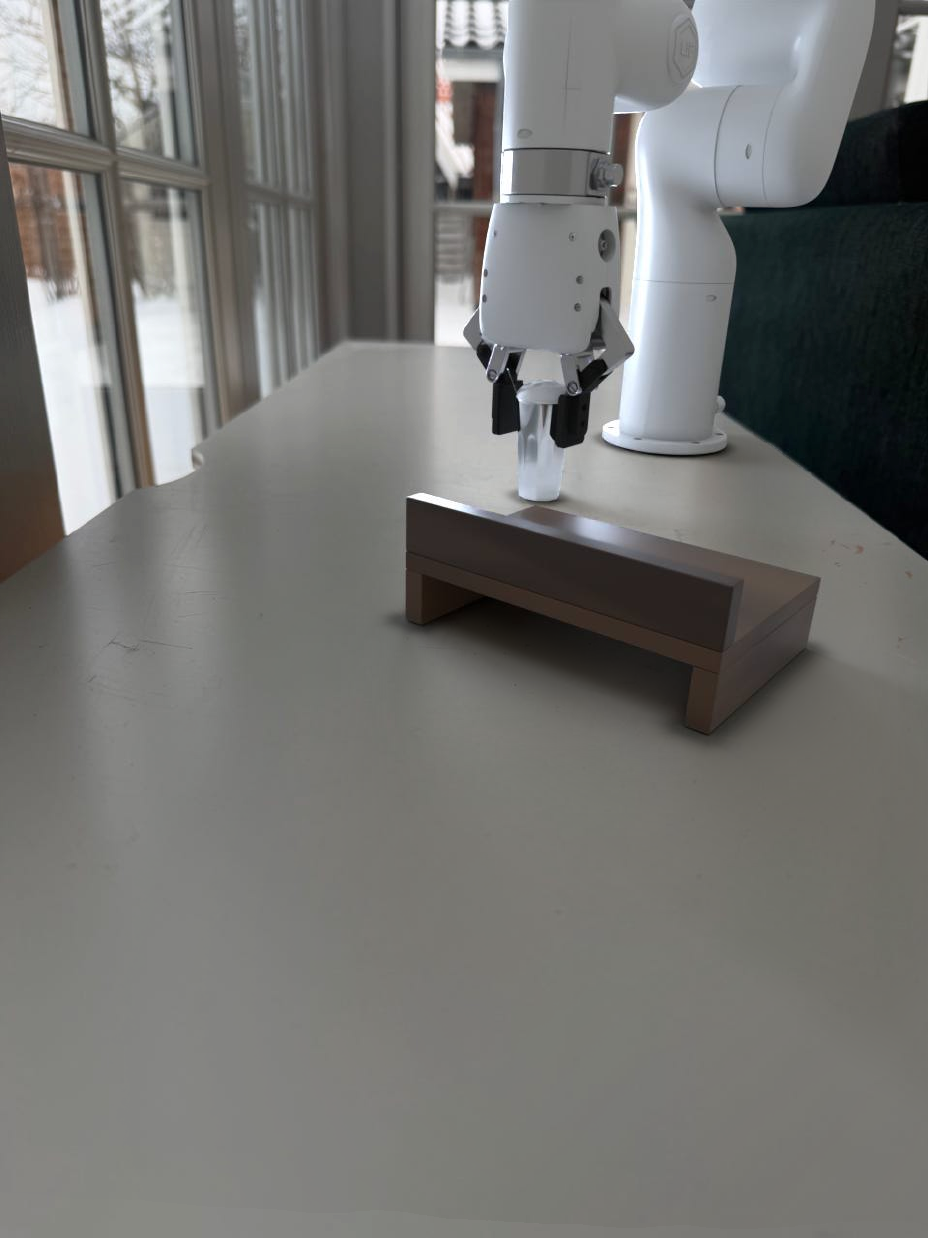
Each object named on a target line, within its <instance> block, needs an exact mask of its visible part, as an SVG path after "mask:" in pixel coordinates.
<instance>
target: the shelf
mask: <svg viewBox="0 0 928 1238" xmlns="http://www.w3.org/2000/svg"><path fill="white" fill-rule="evenodd" d="M405 550H406V551H405V609H404V611H405V612H404V613H405V615H404V616H405V617H404V618H405V620H406V621H409V622H411V623H414V624H417V625H419V626H422V625H425V624H427V623H430V622H431V621H433V620H436V619H438V618H440V617H443V616H445V615H447V614H449V613H451V612H454V611H455V610H458V609H460V608H462V607H466V606H467V605H470V604H472V603H474V602H476V601H477V600H481V599H483V598H485V597H489V598H493V599H495V600H498V601H501V602H504V603H507V604H511V605H513V606H516V607H518V608H522V609H525V610H528V611H530V612H533V613H537V614H540V615H542V616H545V617H549V618H551V619H554V620H557V621H561V622H563V623H565V624H570V625H573V626H575V627H578V628H580V629H584V630H587V631H589V632H593V633H595V634H598V635H602V636H605V637H608V638H610V639H613V640H617V641H619V642H623V643H625V644H628V645H632V646H635V647H637V648H640V649H643V650H646V651H649V652H653V653H655V654H658V655H661V656H664V657H667V658H670V659H673V660H676V661H679V662H681V663H684V664H688V665H690V666H693V667H692V673H691V679H690V685H689V692H688V699H687V705H686V710H685V711H686V712H685V717H684V726H685V727H686V728H689V729H692V730H695V731H697V732H699V733H702V734H705V735H710V734H711V733H713V732H714V731H715V730H716V729H717V728H718V727H719V726H720V725H721V724H722V723H723V722H724V721H725V720H726V719H728V718H729V717H730V716H732V714H734V713H735V712H736V711H737V710H738V709H739V708H740V707H742V705H744V703H746V702H747V701H748V700H749V699H750V698H751V697H752V696H754V695H755V693H757V692H758V691H759V690H761V688H762V687H764V686H765V684H767V683H768V682H769V681H770V680H771V679H773V677H775V675H777V674H778V673H779V672H780V671H781V670H783V669H784V668H785V667H786V666H787V665H788V664H789V663H790V662H791V661H792V660H793V659H795V658H796V657H797V656H798V655H799V654H800V653H801V652H802V651H804V650H805V648H807V646H808V642H809V638H810V632H811V628H812V623H813V618H814V614H815V608H816V604H817V599H818V595H819V590H820V586H821V585H820V584H821V582H822V581H821V580H822V577H820V576H816V575H812V574H809V573H805V572H802V571H797V570H794V569H789V568H785V567H781V566H778V565H773V564H769V563H766V562H761V561H757V560H753V559H750V558H747V557H746V558H745V557H742V556H737V555H733V554H731V553H726V552H722V551H718V550H714V549H710V548H706V547H702V546H699V545H695V544H689V543H687V542H684V541H683V542H682V541H678V540H674V539H671V538H667V537H664V536H659V535H655V534H651V533H647V532H644V531H640V530H636V529H631V528H627V527H624V526H619V525H616V524H611V523H608V522H604V521H600V520H596V519H592V518H588V517H584V516H580V515H575V514H572V513H568V512H564V511H561V510H556V509H552V508H549V507H545V506H540V505H537V504H534V505H532V506H529V507H526V508H522V509H520V510H518V511H515V512H512V513H509V514H507V515H505V514H502V513H498V512H494V511H491V510H487V509H483V508H480V507H477V506H472V505H468V504H464V503H460V502H457V501H453V500H450V499H446V498H442V497H439V496H434V495H431V494H427V493H423V492H418V493H415V494H412V495H409V496H406V497H405Z"/></svg>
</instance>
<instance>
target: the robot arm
mask: <svg viewBox="0 0 928 1238" xmlns="http://www.w3.org/2000/svg"><path fill="white" fill-rule="evenodd" d="M875 13H876V0H694V2H693V6H692V9H690V8H689V7H688V5H687V4H686V2H685V1H684V0H508V7H507V23H506V24H507V28H506V33H505V38H504V45H503V56H502V64H503V65H502V66H503V77H504V97H503V118H502V119H503V120H502V123H503V124H502V141H501V142H502V143H501V144H502V145H501V151H502V152H501V167H500V193H499V194H500V196H499V198H500V199H499V203H497V202H496V203H493V208H492V211H491V216H490V218H489V219H490V220H489V224H488V230H487V234H486V241H485V247H484V253H483V262H482V268H481V269H482V270H481V281H480V291H479V292H480V293H479V295H480V296H479V306H478V307H477V309H476V310H475V311H474V312H473V314H472V315H471V317H470V318H469V320H467V322H466V324H465V325H464V327H463V328H462V336H463V337H464V339H465V340H466V342H467V343H468V344H469V345H470V347H471V348H472V349H473V351H475V354H476V357H477V359H478V360H479V362H480V363H481V365H482V366H483V368H484V370H485V371H486V372H485V377H486V380H487V381H488V382H489V383H491V384H492V394H491V395H492V396H491V397H492V398H491V399H492V400H491V433H492V435H495V436H503V435H506V434H511V433H514V432H518V427H517V404H516V392H517V391H518V390H519V389H520V388H521V387H522V386H523V385H525V383H524V380H523V379H518V376H519V374H520V371H521V368H522V365H523V362H524V359H525V356H526V352H527V350H530V351H531V350H533V351H540V352H547V353H555V354H558V355H559V360H560V366H561V372H562V377H563V382H564V384H565V388H566V393H565V394H560V396H559V398H558V407H557V421H556V435H555V445H556V446H557V447H559V448H566V449H567V448H571V447H575V446H577V445H581V444H584V441H585V437H586V434H587V433H588V429H589V419H590V409H591V408H590V407H591V394H592V393H593V392H596V391H597V390H598V389H599V385H601V384H602V383H603V382H604V381H605V380H606V379H608V377H609V376H610V375H611V374H612V373H613V372H614V370H615V369H617V368H619V367H620V366H622V364H624V365H623V373H622V385H621V394H620V405H619V415H618V419H617V420H613V421H610V422H607V423H605V424H604V425H603V426H602V432H601V433H602V435H601V436H602V439H603V440H604V441H605V442H607V443H609V444H611V445H613V446H616V447H620V448H622V449H627V450H632V451H635V452H636V451H637V452H642V453H650V454H659V455H676V456H682V455H683V456H688V455H689V456H691V455H692V456H693V455H705V454H706V455H708V454H712V453H716V452H720V451H722V450H724V449H725V448H726V447H727V444H728V435H727V434H726V432H725V431H723V430H721V429H719V428H716V427H715V426H714V424H715V416H716V415H717V414H720V413H722V412H723V411H724V410H725V408H726V401H725V399H724V398H723V397H722V396H721V395H719V389H720V382H721V375H722V370H723V369H722V368H723V362H724V355H725V349H726V348H725V347H726V341H727V335H728V334H727V333H728V327H729V321H730V315H731V306H732V300H733V292H734V287H735V282H736V281H735V280H736V272H737V253H736V248H735V245H734V243H733V241H732V238H731V236H730V234H729V232H728V230H727V228H726V226H725V224H724V223H723V221H722V219H721V217H720V215H719V212H718V209H724V208H725V209H726V208H732V207H733V208H734V207H737V208H743V207H744V208H793V207H794V208H795V207H801V206H804V205H806V204H808V203H810V202H812V201H813V200H814V199H816V198H817V197H818V196H819V195H820V193H822V191H823V189H824V188H825V186H826V184H827V182H828V180H829V179H830V178H829V177H830V175H831V173H832V171H833V168H834V165H835V162H836V159H837V157H838V156H837V155H838V152H839V149H840V146H841V144H842V143H841V142H842V140H843V135H844V133H845V129H846V125H847V122H848V120H849V116H850V112H851V108H852V106H853V102H854V99H855V96H856V93H857V89H858V85H859V82H860V79H861V75H862V72H863V69H864V66H865V62H866V59H867V56H868V51H869V47H870V43H871V39H872V34H873V28H874V23H875ZM691 82H692V84H695V85H696V86H698V87H692V88H691V87H690V88H688V86H689V85H690V83H691ZM633 113H634V114H636V113H637V114H638V113H644V114H643V116H642V117H641V120H640V122H639V126H638V128H637V132H636V137H635V146H634V147H635V149H634V151H635V152H634V153H635V155H634V156H635V175H636V190H637V191H636V193H637V229H636V230H637V231H636V243H635V245H636V246H635V257H634V266H633V267H634V268H633V279H632V284H631V285H632V286H631V295H630V305H629V316H628V325H627V331H626V329H625V328H624V326H623V324H622V323H621V321H620V312H621V311H620V309H621V281H622V279H621V278H622V270H621V269H622V267H621V263H622V261H621V241H620V240H621V239H620V229H619V218H618V212H617V206H613V205H606V203H607V197H609V189H610V188H611V187H617V186H620V185H621V184H622V182H623V180H624V168H623V166H622V164H620V163H613V162H612V155H611V150H612V149H611V147H612V135H613V125H614V115H615V114H633ZM601 350H604V351H603V352H602V353H601V354H600V355H599V356H598V357H596V358H595V353H594V351H601ZM507 369H508V370H509V373H510V376H511V378H512V381H513V384H514V387H515V389H516V392H515V390H514V387H513V384H512V381H511V379H510V376H509V373H508V370H507Z"/></svg>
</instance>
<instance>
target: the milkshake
mask: <svg viewBox="0 0 928 1238" xmlns="http://www.w3.org/2000/svg"><path fill="white" fill-rule="evenodd" d="M507 370H508V369H507ZM508 373H509V370H508ZM509 376H510V373H509ZM510 379H511V381H512V378H511V376H510ZM512 384H513V381H512ZM513 387H514V384H513ZM514 390H515V392H516V389H515V387H514ZM565 393H566V388H565V383H561V382H559V381H557V380H553V379H552V380H546V379H537V380H535V381H533V382H527V383H524V385H523V386H522V387H521V388H520V389H519V390H518V391H517V392H516V404H517V427H518V431H517V464H518V465H517V470H518V471H517V473H518V474H517V475H518V477H517V479H518V480H517V481H518V482H517V483H518V496H519V497H521V498H522V499H524V500H527V501H532V502H551V501H555V500H557V499H558V498H559V496H560V490H561V485H562V484H561V482H562V478H563V477H562V476H563V472H564V471H563V470H564V465H565V464H564V463H565V457H566V451H567V448H559V447H557V446H556V445H555V435H556V421H557V407H558V398H559V396H560V394H565Z"/></svg>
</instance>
